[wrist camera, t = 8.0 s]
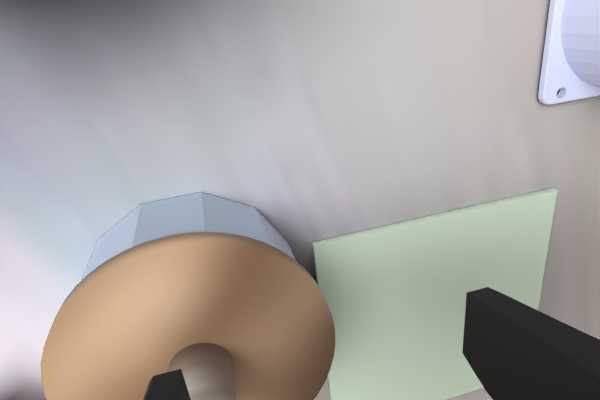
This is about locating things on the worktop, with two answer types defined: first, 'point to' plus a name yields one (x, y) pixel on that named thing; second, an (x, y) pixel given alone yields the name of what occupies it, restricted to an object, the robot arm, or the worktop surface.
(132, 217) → the bowl
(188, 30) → the worktop surface
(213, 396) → the lid
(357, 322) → the mat
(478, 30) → the worktop surface
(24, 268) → the worktop surface
